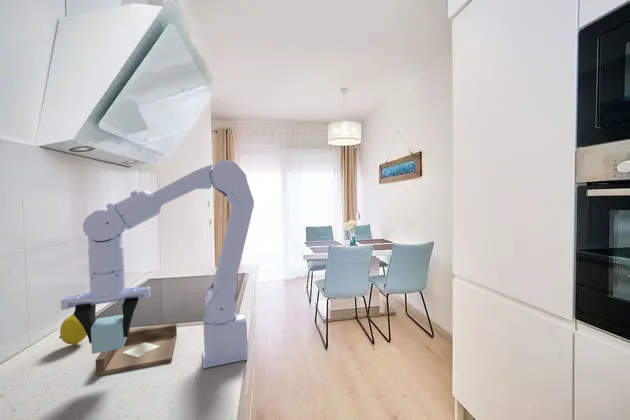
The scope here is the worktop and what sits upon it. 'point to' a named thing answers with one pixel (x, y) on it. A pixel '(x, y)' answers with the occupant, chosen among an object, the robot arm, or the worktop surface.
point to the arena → (140, 350)
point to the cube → (107, 334)
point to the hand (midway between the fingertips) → (110, 338)
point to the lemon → (72, 331)
